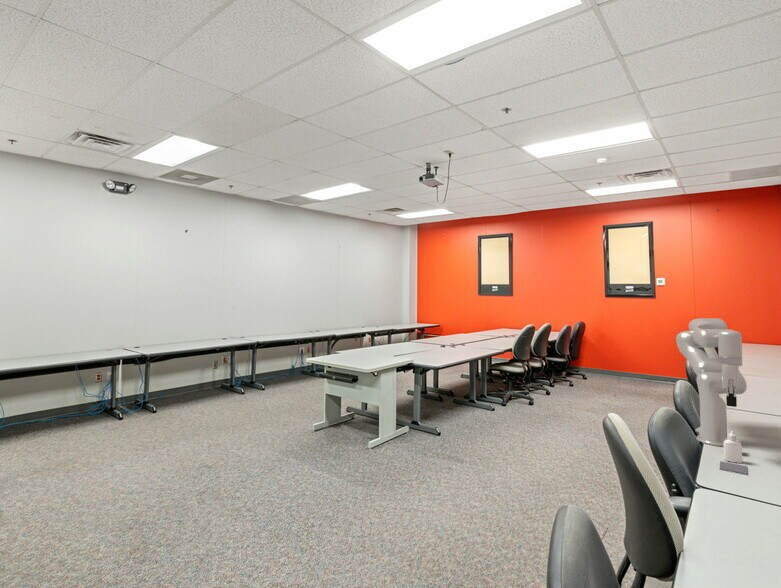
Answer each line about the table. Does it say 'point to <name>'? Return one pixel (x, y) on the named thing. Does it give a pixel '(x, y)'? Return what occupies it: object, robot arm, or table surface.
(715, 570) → the table surface
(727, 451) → the eye dropper bottle
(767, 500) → the table surface
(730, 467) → the mat
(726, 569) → the table surface
